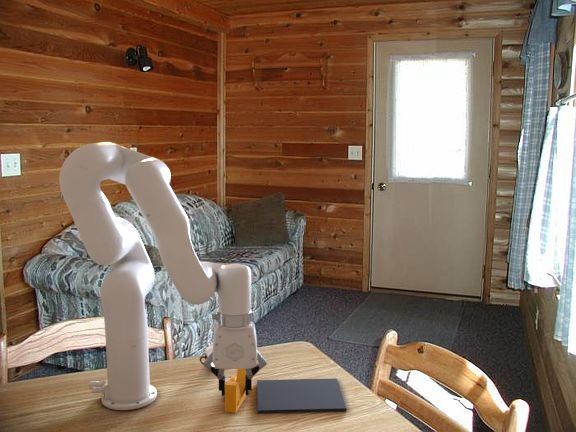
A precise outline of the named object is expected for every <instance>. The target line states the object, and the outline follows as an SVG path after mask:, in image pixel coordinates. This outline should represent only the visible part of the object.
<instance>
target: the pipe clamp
mask: <svg viewBox="0 0 576 432" xmlns="http://www.w3.org/2000/svg"><path fill="white" fill-rule="evenodd" d="M245 379H246V370H245V369H236V375H232V376H231V377H230V379H228V380H227V381H225V395H224V412H226V413H234V414H236V413H238V411H239V409H240V407H241V406H242V404H243V403H244V400H245V399H246V398H247V396H248V395H246V389H245ZM250 391H251V390H249V392H250Z"/></svg>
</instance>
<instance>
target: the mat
mask: <svg viewBox="0 0 576 432" xmlns="http://www.w3.org/2000/svg"><path fill="white" fill-rule="evenodd" d="M256 394H257V395H256V399H257V401H256V402H257V403H256V404H257V414H262V415H263V414H264V415H265V414H298V413H299V414H301V413H302V414H303V413H339V412H340V413H343V412H345V413H346V412H347V411H348V409H347V405H346V403H345V398H344V396H343V393H342V390H341V386H340V383H339V379H338V378H337V377H336V378H297V379H296V378H295V379H257V380H256Z"/></svg>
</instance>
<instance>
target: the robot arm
mask: <svg viewBox="0 0 576 432" xmlns="http://www.w3.org/2000/svg"><path fill="white" fill-rule="evenodd" d="M171 178H172V177H171V170H170V169H169V167H168V166H167V164H165V162H164V161H162V160H161V159H159V158H156V157H153V156H150V155H147V154H145V153H142V152H139V151H136V150H133V149H131V148H128V147H126V146H123V145H120V144H118V143H115V142H110V141H100V142H93V143H92V142H91V143H87V144H84V145H81V146H79V147H77V148H76V149H74V150H73V151H72V152H71V153H70V154H68V156H67V157H66V158H65V160H64V161H63V163H62V165H61V168H60V172H59V177H58V180H59V181H58V182H59V183H58V184H59V189H60V192H61V195H62V198H63V201H64V202H65V203H66V204H65V205H66V207H67V209H68V211H69V212H70V215H71V217H72V220H73V222H74V225H75V227H76V230H77V232H78V234H79V237H80V239H81V241H82V244H83V246H84V248H85V251H86V252H87V255H88V257H89V258H90V259H91V261H92V262H94V263H95V264H97V265H99V266H110V269H111V271H110V272H109V273H108V274H107V275H106V276H105V278H104V279H103V281H102V284H101V286H100V304H101V308H102V313H103V322H104V337H105V358H106V377H107V379H103V380H101V381H99V380H90V381H89V386H88V387H89V388H88V389H89V390H91V393H92V394H101V393H102V394H101V397H100V398H101V399H100V400H101V404H102V405H103V406H104V407H105V408H108V409H110V410H115V411H130V410H137V409H140V408H141V409H142V408H145V407H146V406H148V405H151V404H152V403H154V401H156V398H158V397H157V396H158V392H157V388H156V387H155V386H153V385H151V381H150V379H151V377H150V356H149V355H150V352H149V351H150V350H149V327H148V316H147V310H146V302H145V301H146V300H145V299H146V297H147V295H148V294H149V292H151V290H152V289H153V287H154V284H155V281H156V276H155V275H156V274H155V269H154V268H153V264H152V262H151V259H150V257H149V254H148V252H147V250H146V248H145V246H144V243H143V241H142V239H141V237H140V234H139V231H138V230H137V229H136V227H135V226H134V225H133V224H132V223H131V222H130V221H129V220H127V219H125V218H122V217H117V216H116V215H115V214H114V211H113V209H112V207H111V204H110V202H109V199H108V198H107V197H106V195H105V194H104V192H103V190H102V189H101V183H102V181H105V180H110V181H114V182H115V183H116V182H117V183H119V184H122V185H125V187H126V189H127V191H128V192H129V193H128V194H130V197H131V198H132V201H133V202H134V203H135V205H136V207H137V208H138V210H139V212H140V213H141V216H142V218H143V219H144V221H145V223H146V224H147V227H148V228H149V229H150V232H151V233H152V236H153V238H154V241H155V246H156V248H157V251H158V253H159V256H160V259H161V262H162V265H163V267H164V270H165V271H166V273H167V275H168V277H169V279H170V281H171V282H172V285H173V286H174V287H175V289H176V292H177V293H178V294H179V295H180V296H181V298H182V299H183V300H184V301H185V302H187V303H189V304H190V305H198V306H199V305H202V304H205V303H206V302H208V301H209V300H210V299H211V298H212V297H213V295H214V293H216V294H217V299H218V301H217V302H218V304H217V306H218V308H217V309H218V311H217V312H215V313H212V314H211V320H215V321H216V323H215V325H214V330H213V336H212V337H213V338H212V345H213V351H212V352H211V354H210V355H209V356H208V357H207V358H206V360H205V359H204V361H203V363H204V364H202V365H203V367H204V368H206V369H207V370H208V371H211V373H212V374H213V375H214V376H215V377H216V378H217V380H218V392H221V396H222V397H225V384H226V374H225V370H237V369H245V370H246V379H245V389H246V395H247V396H250V395H249V392H250V391H252V386H253V385H252V384H253V383H252V380H253V378H254V377H255V375H256V374H258V373H259V372H260V370H262V369H263V368H264V367H266V366H267V365H268V363H267V362H268V361H267V360H266V358H265V357H264V356H263V355H262V354H261V352H260V351H259V350H258V342H257V331H256V326H255V323H254V322H253V321H252V270H251V268H250V267H249V266H248V265H246V264H242V263H228V264H223V263H217V262H211V261H200V260H199V257H198V256H197V254H196V251H195V249H194V246H193V243H192V239H191V231H190V221H189V218H188V215H187V214H186V212H185V210H184V207H183V206H182V204H181V202H179V201H180V200H179V199H178V197H177V196H176V193H175V192H174V191H173V189H172V186H171V185H170V183H171ZM212 361H213V364H212V363H211V362H212ZM249 390H250V391H249Z"/></svg>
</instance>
